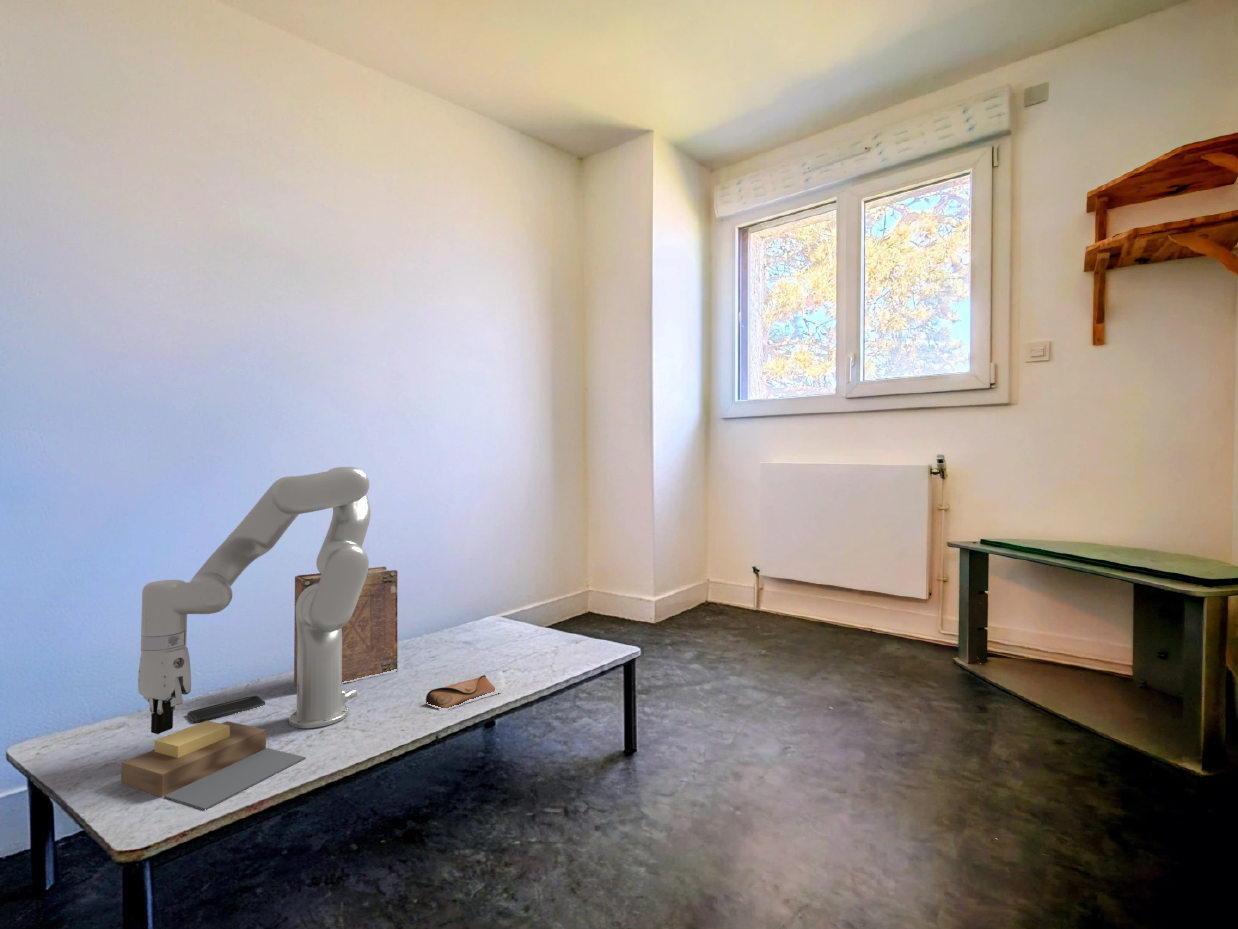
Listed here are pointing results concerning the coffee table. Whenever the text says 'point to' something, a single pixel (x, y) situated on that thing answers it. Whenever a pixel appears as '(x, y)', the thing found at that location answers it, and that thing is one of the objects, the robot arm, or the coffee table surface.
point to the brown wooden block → (191, 761)
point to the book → (364, 625)
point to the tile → (192, 738)
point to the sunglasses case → (459, 692)
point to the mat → (234, 778)
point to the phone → (225, 709)
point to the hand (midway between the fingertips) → (161, 730)
